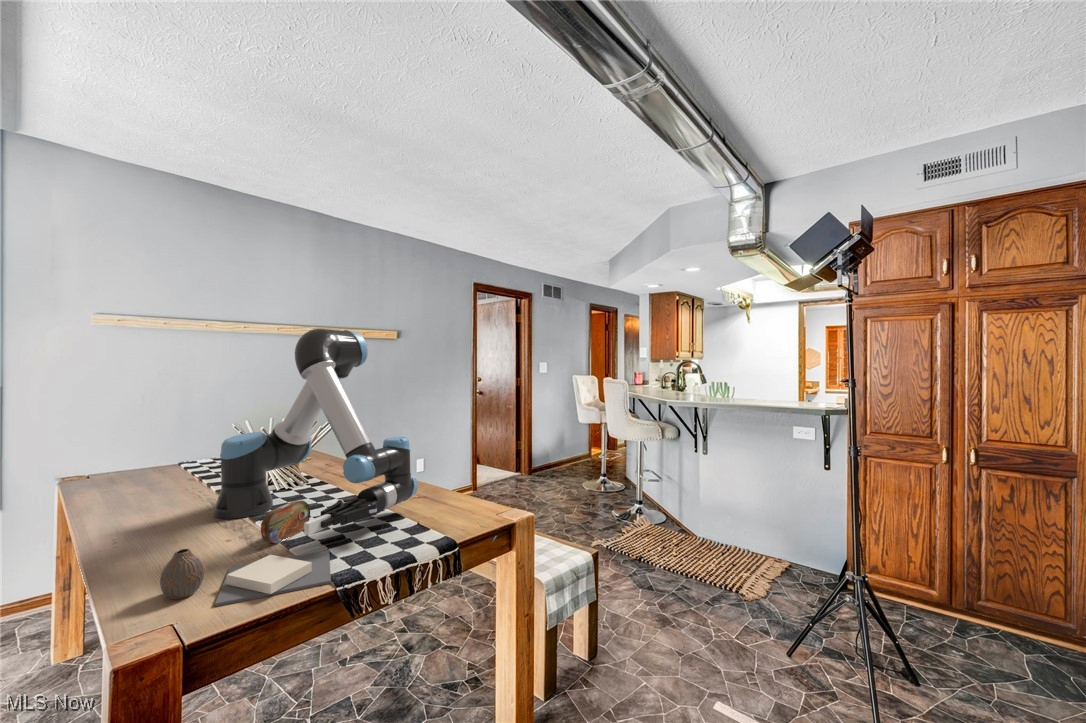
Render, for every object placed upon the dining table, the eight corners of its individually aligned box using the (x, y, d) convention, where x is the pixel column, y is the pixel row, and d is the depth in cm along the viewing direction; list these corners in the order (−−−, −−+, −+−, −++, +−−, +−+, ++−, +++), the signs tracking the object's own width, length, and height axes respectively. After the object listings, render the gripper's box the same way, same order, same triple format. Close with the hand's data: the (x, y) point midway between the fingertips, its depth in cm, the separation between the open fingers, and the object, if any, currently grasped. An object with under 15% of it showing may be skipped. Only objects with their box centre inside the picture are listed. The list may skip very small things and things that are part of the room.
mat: (230, 569, 101) (230, 566, 101) (329, 552, 110) (329, 549, 110) (214, 606, 86) (214, 603, 86) (330, 583, 95) (330, 580, 95)
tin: (269, 548, 113) (268, 515, 112) (258, 547, 113) (257, 514, 113) (311, 526, 127) (311, 496, 127) (301, 525, 128) (301, 496, 128)
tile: (270, 564, 103) (226, 585, 93) (270, 554, 103) (226, 574, 93) (311, 572, 99) (270, 595, 89) (311, 562, 99) (270, 584, 89)
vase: (188, 602, 88) (188, 557, 88) (150, 604, 87) (150, 559, 87) (212, 585, 95) (211, 543, 94) (177, 586, 94) (176, 544, 94)
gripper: (395, 515, 125) (328, 549, 103) (357, 509, 130) (285, 541, 107) (395, 488, 125) (328, 516, 103) (357, 483, 129) (285, 509, 107)
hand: (306, 529), depth 105 cm, fingers closed
